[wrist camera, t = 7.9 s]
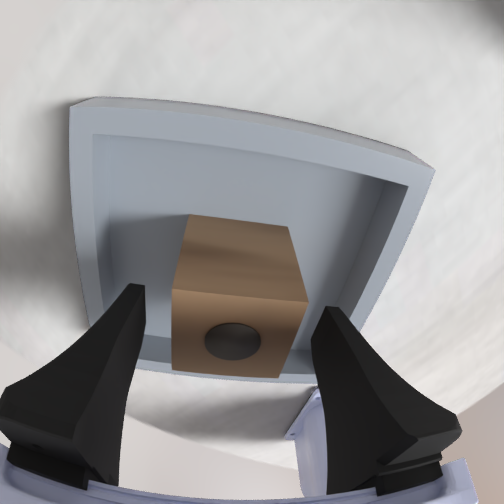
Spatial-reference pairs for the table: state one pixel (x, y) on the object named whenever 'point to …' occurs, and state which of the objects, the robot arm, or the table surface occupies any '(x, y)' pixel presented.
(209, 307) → the walnut block
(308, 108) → the table surface
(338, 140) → the slate tray
